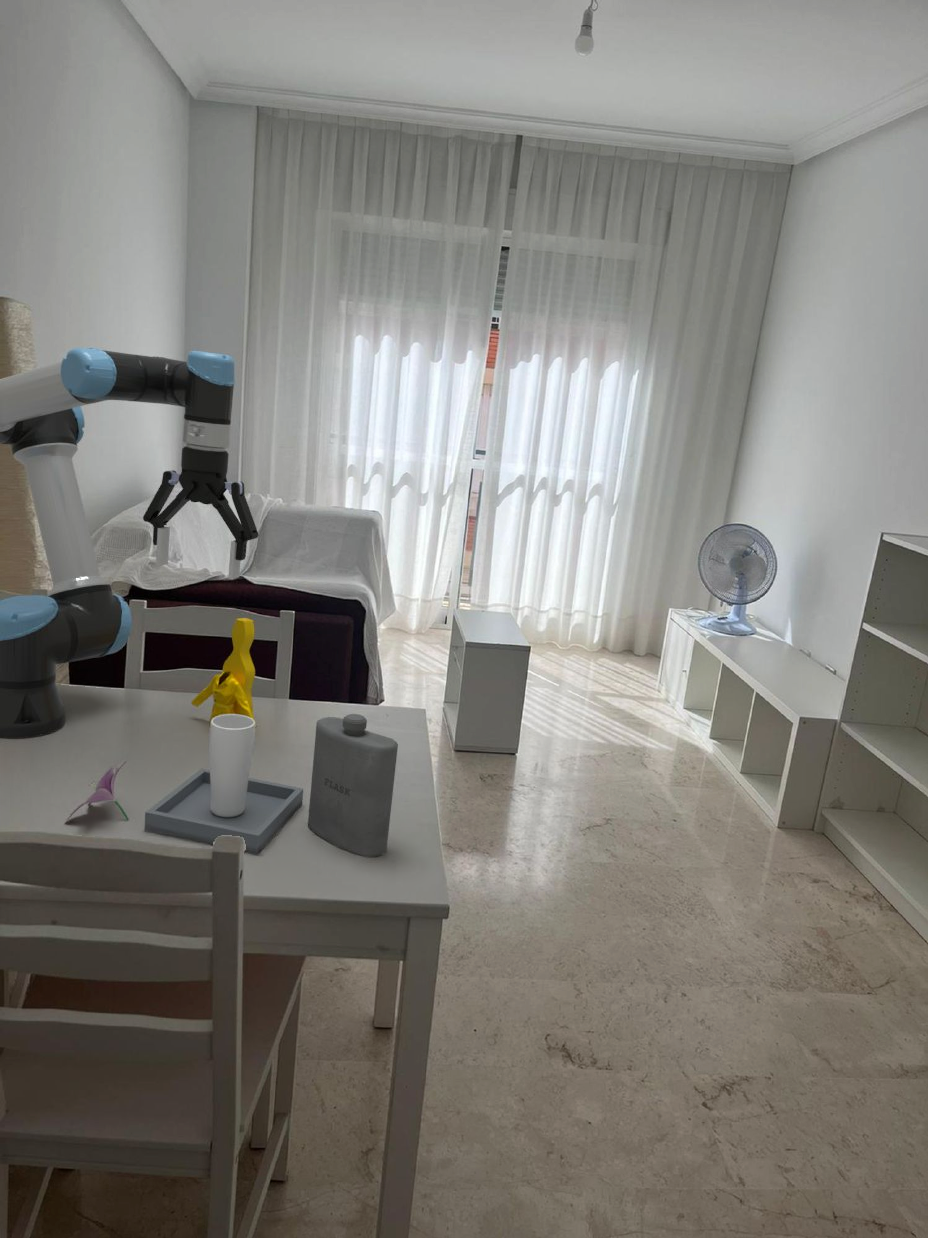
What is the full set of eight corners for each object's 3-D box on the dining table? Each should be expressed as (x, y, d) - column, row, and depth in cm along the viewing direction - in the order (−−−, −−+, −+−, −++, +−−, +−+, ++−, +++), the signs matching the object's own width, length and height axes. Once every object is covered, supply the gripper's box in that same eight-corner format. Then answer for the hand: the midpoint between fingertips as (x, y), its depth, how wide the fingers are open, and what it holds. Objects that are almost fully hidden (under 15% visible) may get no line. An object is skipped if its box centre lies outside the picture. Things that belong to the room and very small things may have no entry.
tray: (144, 830, 137) (145, 812, 136) (200, 785, 154) (201, 768, 154) (257, 854, 134) (258, 835, 134) (302, 805, 152) (303, 788, 151)
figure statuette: (182, 720, 182) (188, 612, 177) (213, 712, 188) (219, 607, 183) (246, 746, 173) (254, 634, 168) (276, 737, 179) (284, 628, 174)
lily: (128, 800, 148) (99, 750, 146) (172, 797, 141) (142, 744, 139) (68, 847, 139) (36, 795, 136) (112, 846, 132) (79, 790, 130)
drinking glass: (238, 824, 140) (244, 732, 137) (197, 816, 141) (202, 724, 138) (256, 806, 147) (262, 718, 143) (217, 798, 148) (222, 710, 145)
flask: (297, 826, 144) (307, 706, 140) (323, 816, 149) (334, 699, 144) (367, 863, 136) (380, 736, 131) (393, 850, 140) (406, 727, 136)
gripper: (125, 437, 152) (120, 562, 157) (265, 459, 148) (255, 587, 153) (150, 436, 160) (144, 556, 165) (284, 457, 155) (273, 580, 160)
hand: (197, 571), depth 159 cm, fingers open, 13 cm apart
